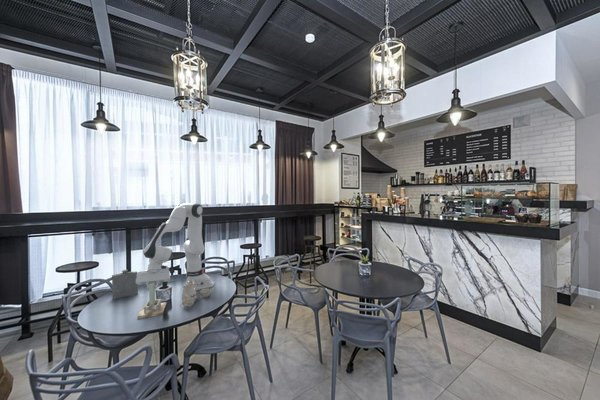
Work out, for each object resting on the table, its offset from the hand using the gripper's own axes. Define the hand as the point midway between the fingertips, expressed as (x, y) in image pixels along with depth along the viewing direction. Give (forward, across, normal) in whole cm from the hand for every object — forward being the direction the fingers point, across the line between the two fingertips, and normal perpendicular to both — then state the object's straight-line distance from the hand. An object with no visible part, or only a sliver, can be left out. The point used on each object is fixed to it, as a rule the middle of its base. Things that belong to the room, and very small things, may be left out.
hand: (151, 288), depth 162 cm
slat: (+7, 0, +8) cm, 11 cm away
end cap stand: (+10, 0, +12) cm, 16 cm away
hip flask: (-15, -24, +37) cm, 47 cm away
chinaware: (+6, +25, +16) cm, 30 cm away
